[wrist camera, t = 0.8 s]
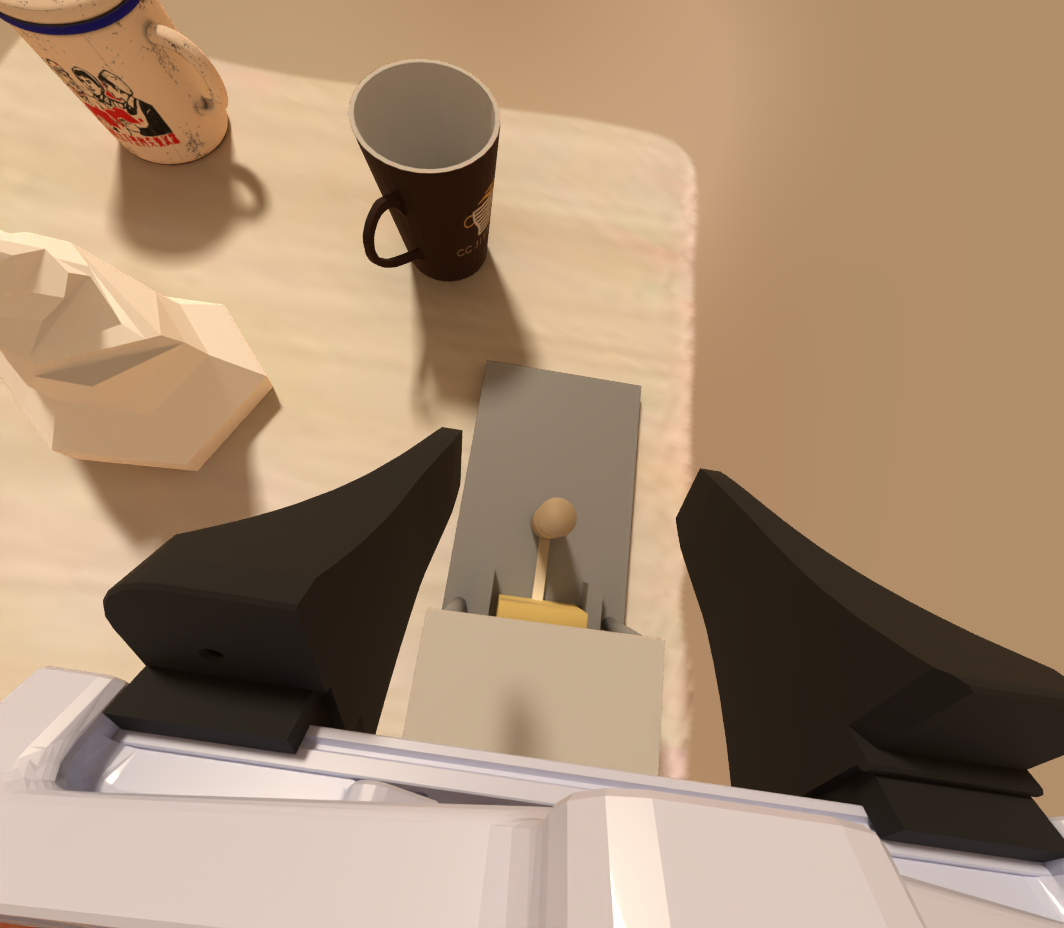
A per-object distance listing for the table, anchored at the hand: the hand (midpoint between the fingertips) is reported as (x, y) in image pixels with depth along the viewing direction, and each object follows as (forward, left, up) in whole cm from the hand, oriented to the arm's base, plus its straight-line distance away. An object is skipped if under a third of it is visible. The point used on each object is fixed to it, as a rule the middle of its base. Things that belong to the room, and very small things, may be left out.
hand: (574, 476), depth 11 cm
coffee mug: (+20, +11, -16) cm, 28 cm away
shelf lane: (-1, -1, -16) cm, 16 cm away
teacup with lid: (+28, +33, -16) cm, 46 cm away
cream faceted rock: (+6, +27, -16) cm, 32 cm away
